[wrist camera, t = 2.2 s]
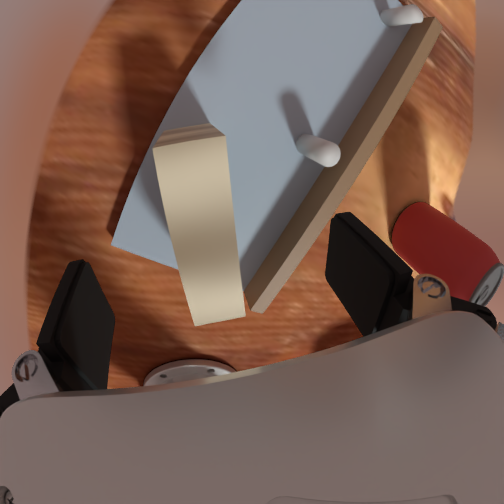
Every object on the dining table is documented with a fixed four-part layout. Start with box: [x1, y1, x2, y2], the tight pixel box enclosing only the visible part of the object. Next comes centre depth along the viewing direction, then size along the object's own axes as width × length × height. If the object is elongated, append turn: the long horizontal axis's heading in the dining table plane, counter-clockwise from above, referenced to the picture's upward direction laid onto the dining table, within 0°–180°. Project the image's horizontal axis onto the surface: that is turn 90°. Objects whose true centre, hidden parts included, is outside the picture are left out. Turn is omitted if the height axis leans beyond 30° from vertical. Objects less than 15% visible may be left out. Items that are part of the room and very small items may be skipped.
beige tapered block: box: [152, 123, 246, 326], centre depth 16 cm, size 10×3×7 cm, turn 4°
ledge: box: [111, 0, 443, 314], centre depth 16 cm, size 30×14×4 cm, turn 149°
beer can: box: [392, 202, 504, 307], centre depth 22 cm, size 7×7×12 cm
